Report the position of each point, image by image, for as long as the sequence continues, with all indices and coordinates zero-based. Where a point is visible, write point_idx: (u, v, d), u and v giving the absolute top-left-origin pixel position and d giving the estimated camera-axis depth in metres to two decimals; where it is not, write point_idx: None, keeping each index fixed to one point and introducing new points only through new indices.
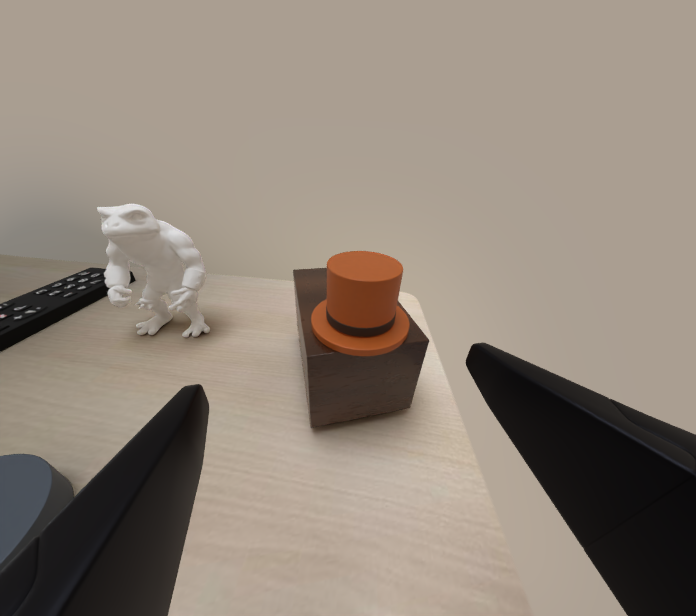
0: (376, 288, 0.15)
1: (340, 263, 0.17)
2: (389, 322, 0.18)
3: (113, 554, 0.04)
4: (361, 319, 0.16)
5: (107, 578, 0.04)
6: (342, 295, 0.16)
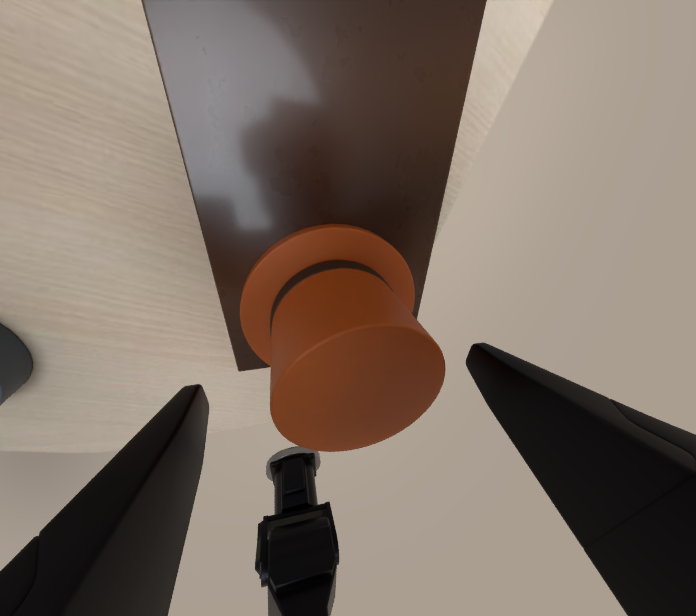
0: None
1: (306, 402, 0.07)
2: None
3: (113, 554, 0.04)
4: None
5: (107, 578, 0.04)
6: None
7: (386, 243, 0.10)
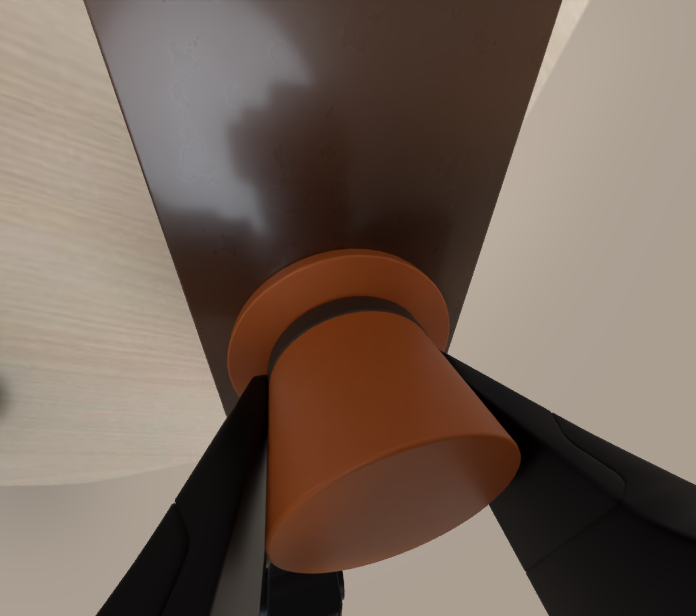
0: None
1: (319, 535, 0.04)
2: None
3: (240, 520, 0.04)
4: None
5: (238, 541, 0.04)
6: None
7: (419, 273, 0.07)
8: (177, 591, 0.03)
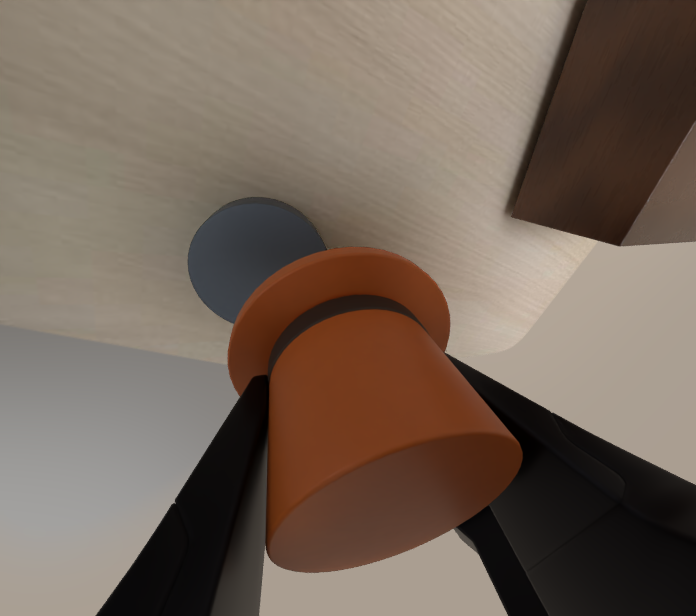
0: None
1: (320, 534, 0.04)
2: None
3: (240, 520, 0.04)
4: None
5: (238, 541, 0.04)
6: None
7: (420, 271, 0.07)
8: (177, 591, 0.03)
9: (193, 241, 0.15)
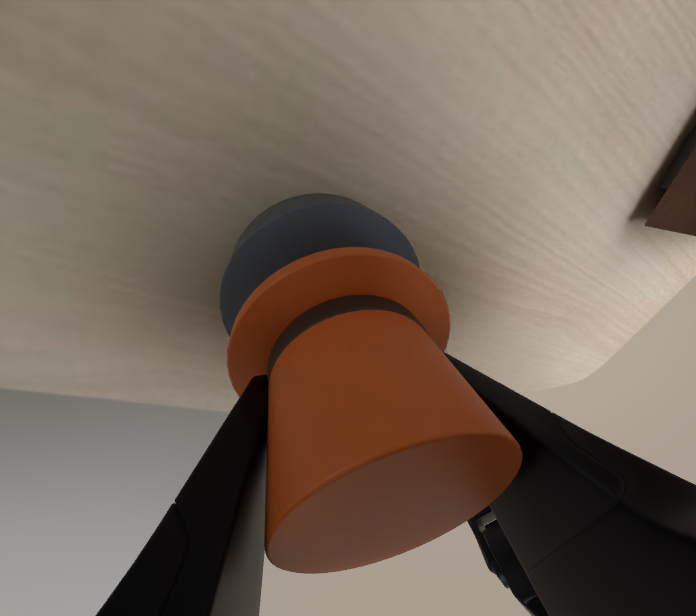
0: None
1: (319, 535, 0.04)
2: None
3: (240, 520, 0.04)
4: None
5: (239, 541, 0.04)
6: None
7: (420, 271, 0.07)
8: (177, 591, 0.03)
9: (231, 263, 0.09)
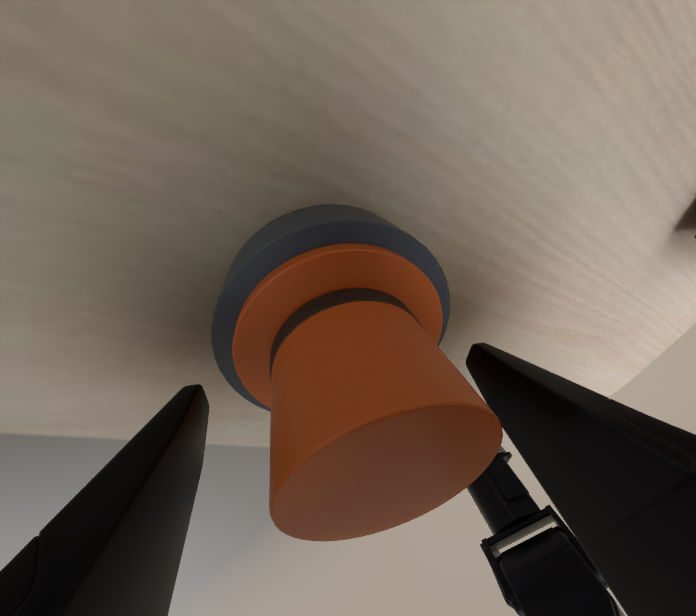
0: None
1: (319, 499, 0.05)
2: None
3: (113, 554, 0.04)
4: None
5: (107, 578, 0.04)
6: None
7: (413, 266, 0.08)
8: None
9: (224, 292, 0.07)
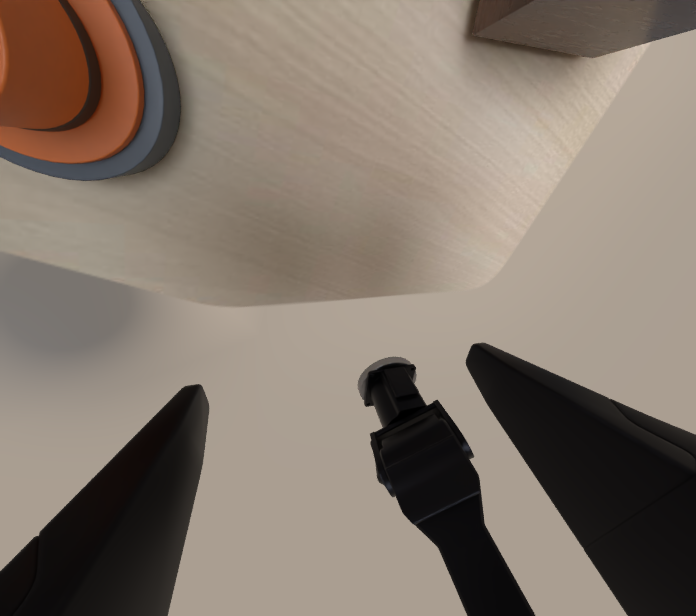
0: None
1: None
2: (75, 119, 0.10)
3: (113, 554, 0.04)
4: None
5: (107, 578, 0.04)
6: None
7: None
8: None
9: None
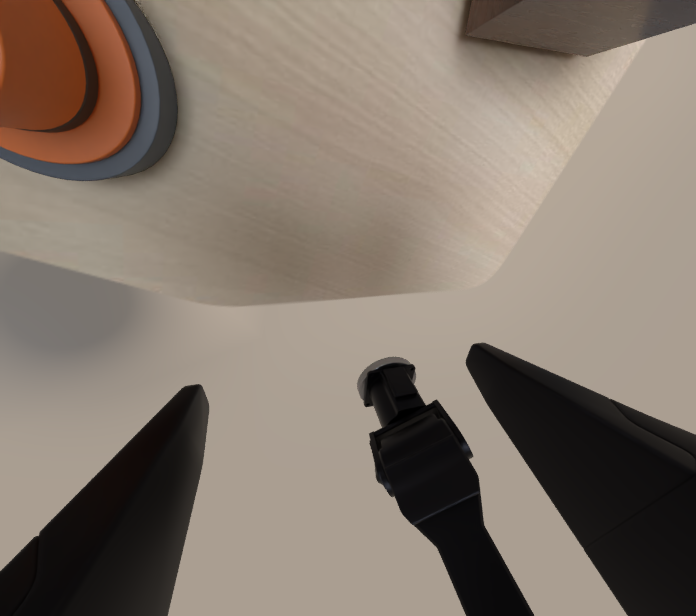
0: None
1: None
2: (73, 120, 0.10)
3: (113, 554, 0.04)
4: None
5: (107, 578, 0.04)
6: None
7: None
8: None
9: None
